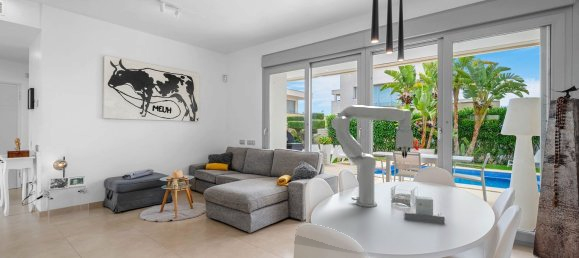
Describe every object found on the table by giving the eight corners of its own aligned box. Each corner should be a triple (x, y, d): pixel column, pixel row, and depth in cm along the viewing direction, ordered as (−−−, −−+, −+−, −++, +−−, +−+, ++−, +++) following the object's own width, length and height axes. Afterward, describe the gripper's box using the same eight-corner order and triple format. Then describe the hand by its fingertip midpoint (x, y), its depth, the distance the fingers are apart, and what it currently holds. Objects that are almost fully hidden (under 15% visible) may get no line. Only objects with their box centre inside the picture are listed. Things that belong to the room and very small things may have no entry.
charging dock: (404, 219, 146) (404, 212, 146) (404, 212, 159) (404, 206, 159) (444, 223, 140) (444, 216, 140) (440, 216, 152) (440, 209, 152)
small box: (431, 216, 152) (431, 197, 152) (433, 219, 146) (433, 199, 146) (415, 214, 154) (415, 195, 154) (416, 218, 149) (416, 198, 149)
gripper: (392, 129, 178) (391, 157, 179) (417, 129, 173) (417, 158, 173) (392, 129, 185) (392, 156, 185) (417, 129, 180) (417, 157, 180)
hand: (404, 157), depth 179 cm, fingers closed
